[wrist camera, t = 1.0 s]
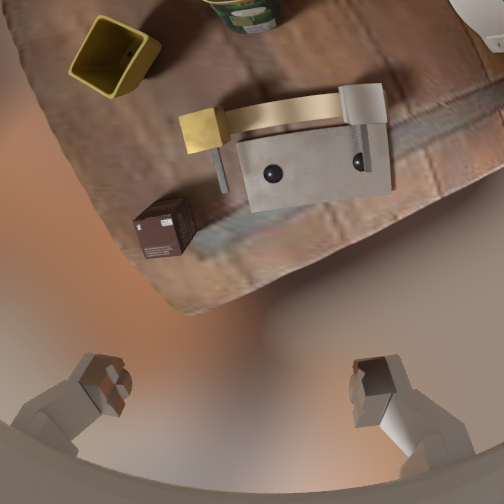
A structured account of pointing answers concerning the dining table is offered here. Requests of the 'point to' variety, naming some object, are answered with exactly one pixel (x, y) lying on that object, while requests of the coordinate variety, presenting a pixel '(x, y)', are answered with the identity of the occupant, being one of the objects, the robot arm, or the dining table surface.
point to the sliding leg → (207, 136)
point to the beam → (319, 112)
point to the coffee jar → (248, 14)
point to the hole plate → (314, 167)
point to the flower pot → (114, 57)
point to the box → (165, 228)
